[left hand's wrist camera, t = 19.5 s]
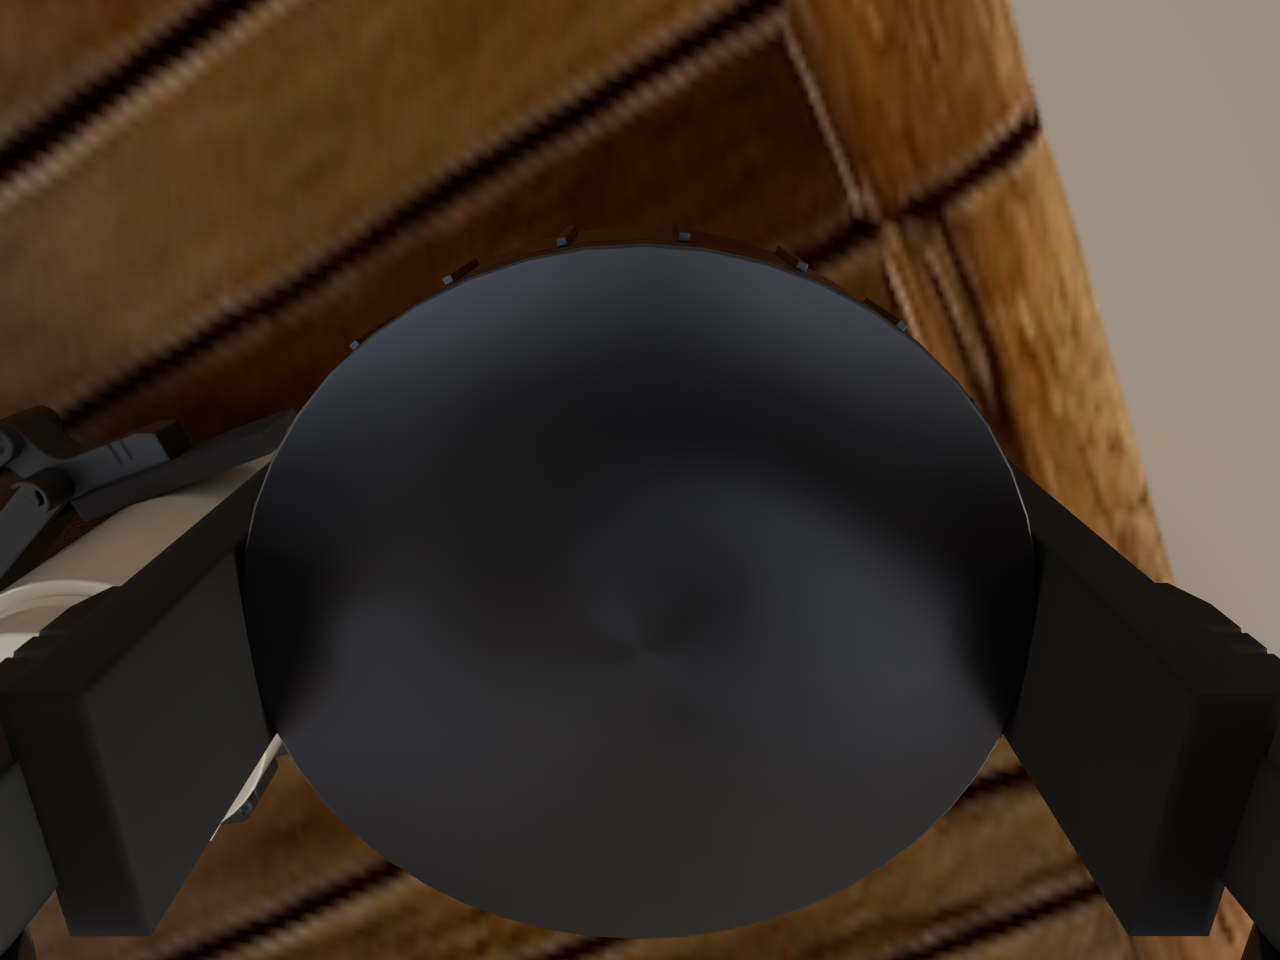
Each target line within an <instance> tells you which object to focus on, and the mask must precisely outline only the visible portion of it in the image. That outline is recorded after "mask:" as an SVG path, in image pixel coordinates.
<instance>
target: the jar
mask: <svg viewBox="0 0 1280 960" xmlns="http://www.w3.org/2000/svg"><path fill="white" fill-rule="evenodd" d="M276 450H277V449H276ZM276 450H275V451H274V452H272V453H271V454H269V455H266V456H264V457H261V458H258V459H256V460H253V461H250V462H247V463H245V464H242V465H239V466H237V467H234V468H231V469H229V470H226V471H223V472H220V473H218V474H215V475H212V476H210V477H207V478H204V479H201V480H199V481H196V482H193V483H191V484H188V485H185V486H183V487H180V488H177V489H174V490H172V491H169V492H166V493H164V494H161V495H158V496H156V497H153V498H150V499H147V500H145V501H142V502H139V503H137V504H134V505H131V506H129V507H126V508H123V509H121V510H120V511H118V512H117V513H115V514H114V515H112V516H111V517H110V518H108V519H107V520H105V521H104V522H102V523H101V524H99V525H98V526H96V527H95V528H93V529H92V530H90V531H89V532H88V533H86V534H85V535H83V536H82V537H80V538H79V539H77V540H76V541H74V542H73V543H71V544H70V545H68V546H67V547H66V548H64V549H63V550H61V551H60V552H58V553H57V554H55V555H54V556H52V557H51V558H49V559H48V560H46V561H45V562H44V563H42V564H41V565H39V566H38V567H36V568H35V569H33V570H32V571H30V572H29V573H27V574H26V575H24V576H23V577H22V578H20V579H19V580H17V581H16V582H14V583H13V584H11V585H10V586H8V587H7V588H5V589H4V590H2V591H1V592H0V662H2V661H3V660H4V659H5V658H7V657H13V655H14V653H13V652H14V651H15V650H17V649H18V648H19V647H20V646H22V645H23V644H24V643H25V642H27V641H28V640H29V639H30V638H32V637H33V636H39V631H40V630H42V629H43V628H44V627H45V626H47V625H48V624H49V623H50V622H52V621H53V620H54V619H55V618H57V617H58V616H59V615H60V614H62V613H63V612H64V611H65V610H67V609H68V608H69V607H71V606H73V605H75V604H77V603H79V602H81V601H83V600H85V599H87V598H89V597H91V596H93V595H95V594H97V593H99V592H101V591H104V590H106V589H108V588H110V587H112V586H122V585H123V584H124V583H125V582H126V581H128V580H129V579H130V578H131V577H132V576H134V575H135V574H136V573H137V572H138V571H140V570H141V569H142V568H143V567H144V566H145V565H147V564H148V563H149V562H150V561H151V560H153V559H154V558H155V557H156V556H157V555H159V554H160V553H161V552H162V551H163V550H165V549H166V548H167V547H168V546H169V545H171V544H172V543H173V542H174V541H175V540H177V539H178V538H179V537H180V536H181V535H182V534H184V533H185V532H186V531H187V530H188V529H190V528H191V527H192V526H193V525H194V524H196V523H197V522H198V521H199V520H200V519H202V518H203V517H204V516H205V515H206V514H208V513H209V512H210V511H211V510H212V509H214V508H215V507H216V506H217V505H218V504H219V503H221V502H222V501H223V500H224V499H225V498H227V497H228V496H229V495H230V494H231V493H233V492H234V491H235V490H236V489H237V488H239V487H240V486H241V485H242V484H243V483H245V482H246V481H247V480H248V479H249V478H251V477H252V476H253V475H254V474H255V473H256V472H258V471H259V470H260V469H261V468H262V467H264V466H265V465H266V464H267V463H268V462H270V461H271V459H272V457H273V456H274V454H275V452H276ZM282 743H283V742H282V740H281V739H280V737H279V735H278V734H276V735H275V737H274V739H273V740H272V742H271V743H270V745H269V747H268V748H267V750H266V751H265V753H264V755H263V756H262V758H261V759H260V761H259V763H258V764H257V766H256V767H255V769H254V771H253V772H252V774H251V775H250V777H249V779H248V780H247V782H246V783H245V785H244V787H243V788H242V790H241V791H240V793H239V795H238V796H237V798H236V799H235V801H234V803H233V804H232V806H231V808H230V809H229V811H228V812H227V814H226V816H225V817H224V819H223V820H222V822H223V821H224V820H226V819H227V818H228V817H230V816H231V815H232V814H234V813H235V812H236V811H237V810H238V809H239V808H240V807H241V806H242V805H243V804H244V803H245V802H246V800H247V799H248V797H249V796H250V795H251V793H252V792H253V790H254V789H255V787H256V786H257V784H258V782H259V781H260V779H261V777H262V776H263V774H264V772H265V771H266V769H267V767H268V766H269V764H270V763H271V761H272V759H273V758H274V756H275V754H276V753H277V751H278V749H279V748H280V746H281V744H282ZM222 822H221V823H222ZM219 826H220V825H219ZM218 828H219V827H218ZM218 828H217V830H218ZM217 830H216V831H217ZM215 833H216V832H215ZM215 833H214V835H215ZM214 835H213V836H212V838H213V837H214ZM212 838H211V840H212ZM211 840H210V841H211Z"/></svg>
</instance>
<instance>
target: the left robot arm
mask: <svg viewBox="0 0 1280 960" xmlns="http://www.w3.org/2000/svg"><path fill="white" fill-rule="evenodd" d="M1008 461H1009V460H1008ZM270 462H271V461H270ZM270 462H268V463H267V464H266V465H265V466H264V467H262V468H261V469H260V470H259V471H258V472H256V473H255V474H254V475H253V476H252V477H251V478H249V479H248V480H247V481H246V482H245V483H243V484H242V485H241V486H240V487H239V488H237V489H236V490H235V491H234V492H233V493H231V494H230V495H229V496H228V497H227V498H225V499H224V500H223V501H222V502H221V503H219V504H218V505H217V506H216V507H215V508H214V509H212V510H211V511H210V512H209V513H208V514H206V515H205V516H204V517H203V518H202V519H200V520H199V521H198V522H197V523H196V524H194V525H193V526H192V527H191V528H190V529H188V530H187V531H186V532H185V533H184V534H182V535H181V536H180V537H179V538H178V539H177V540H175V541H174V542H173V543H172V544H171V545H169V546H168V547H167V548H166V549H165V550H163V551H162V552H161V553H160V554H159V555H157V556H156V557H155V558H154V559H153V560H151V561H150V562H149V563H148V564H147V565H145V566H144V567H143V568H142V569H141V570H140V571H138V572H137V573H136V574H135V575H134V576H132V577H131V578H130V579H129V580H128V581H126V582H125V583H124V584H123V585H122V586H112V587H110V588H108V589H106V590H104V591H101V592H99V593H97V594H95V595H93V596H91V597H89V598H87V599H85V600H83V601H81V602H79V603H77V604H75V605H73V606H71V607H69V608H68V609H67V610H65V611H64V612H63V613H62V614H60V615H59V616H58V617H57V618H55V619H54V620H53V621H52V622H50V623H49V624H48V625H47V626H45V627H44V628H43V629H42V630H40V631H39V636H33V637H32V638H30V639H29V640H28V641H27V642H25V643H24V644H23V645H22V646H20V647H19V648H18V649H17V650H15V651H14V652H13V653H14V655H13V657H7V658H5V659H4V660H3V661H2V662H0V960H36V955H35V948H34V943H33V941H32V938H31V935H30V932H29V929H28V926H27V924H28V923H29V922H30V921H31V919H32V918H33V917H34V916H35V914H36V913H37V912H38V911H39V909H40V908H41V907H42V905H43V904H44V903H45V902H46V900H47V899H48V898H49V897H50V895H51V894H52V893H53V892H54V890H56V893H57V896H58V899H59V902H60V905H61V908H62V911H63V914H64V917H65V920H66V924H67V927H68V930H69V933H70V936H151V934H152V933H153V931H154V929H155V928H156V926H157V925H158V923H159V921H160V920H161V918H162V917H163V915H164V913H165V912H166V910H167V909H168V907H169V905H170V904H171V902H172V901H173V899H174V897H175V896H176V894H177V893H178V891H179V889H180V888H181V886H182V885H183V883H184V881H185V880H186V878H187V876H188V875H189V873H190V872H191V870H192V868H193V867H194V865H195V864H196V862H197V860H198V859H199V857H200V856H201V854H202V852H203V851H204V849H205V848H206V846H207V844H208V843H209V841H210V840H211V838H212V836H213V835H214V833H215V832H216V830H217V828H218V827H219V825H220V824H221V822H222V820H223V819H224V817H225V816H226V814H227V812H228V811H229V809H230V808H231V806H232V804H233V803H234V801H235V799H236V798H237V796H238V795H239V793H240V791H241V790H242V788H243V787H244V785H245V783H246V782H247V780H248V779H249V777H250V775H251V774H252V772H253V771H254V769H255V767H256V766H257V764H258V763H259V761H260V759H261V758H262V756H263V755H264V753H265V751H266V750H267V748H268V747H269V745H270V743H271V742H272V740H273V739H274V737H275V735H276V734H277V732H276V730H275V728H274V726H273V723H272V721H271V718H270V716H269V714H268V711H267V709H266V706H265V704H264V701H263V699H262V696H261V694H260V692H259V689H258V686H257V681H256V676H255V671H254V666H253V662H252V657H251V652H250V647H249V642H248V636H247V630H246V624H245V618H244V610H243V600H242V596H243V576H244V557H245V548H246V543H247V538H248V533H249V529H250V524H251V519H252V514H253V509H254V505H255V502H256V499H257V497H258V494H259V491H260V489H261V486H262V483H263V481H264V478H265V475H266V473H267V470H268V467H269V465H270ZM1009 463H1010V465H1011V467H1012V469H1013V472H1014V475H1015V478H1016V481H1017V484H1018V487H1019V490H1020V493H1021V496H1022V499H1023V502H1024V505H1025V508H1026V511H1027V514H1028V518H1029V524H1030V530H1031V536H1032V541H1033V547H1034V553H1035V559H1036V588H1037V612H1036V617H1035V623H1034V628H1033V634H1032V640H1031V645H1030V651H1029V656H1028V661H1027V666H1026V670H1025V675H1024V680H1023V684H1022V687H1021V691H1020V694H1019V697H1018V700H1017V702H1016V704H1015V706H1014V709H1013V711H1012V713H1011V715H1010V718H1009V720H1008V722H1007V724H1006V727H1005V729H1004V731H1003V735H1004V736H1005V738H1006V739H1007V741H1008V743H1009V744H1010V746H1011V747H1012V749H1013V751H1014V752H1015V754H1016V755H1017V757H1018V759H1019V760H1020V762H1021V763H1022V765H1023V767H1024V768H1025V770H1026V772H1027V773H1028V775H1029V776H1030V778H1031V780H1032V781H1033V783H1034V784H1035V786H1036V788H1037V789H1038V791H1039V792H1040V794H1041V796H1042V797H1043V799H1044V800H1045V802H1046V804H1047V805H1048V807H1049V808H1050V810H1051V812H1052V813H1053V815H1054V816H1055V818H1056V820H1057V821H1058V823H1059V824H1060V826H1061V828H1062V829H1063V831H1064V832H1065V834H1066V836H1067V837H1068V839H1069V840H1070V842H1071V844H1072V845H1073V847H1074V849H1075V850H1076V852H1077V853H1078V855H1079V857H1080V858H1081V860H1082V861H1083V863H1084V865H1085V866H1086V868H1087V869H1088V871H1089V873H1090V874H1091V876H1092V877H1093V879H1094V881H1095V882H1096V884H1097V885H1098V887H1099V889H1100V890H1101V892H1102V893H1103V895H1104V897H1105V898H1106V900H1107V901H1108V903H1109V905H1110V906H1111V908H1112V909H1113V911H1114V913H1115V914H1116V916H1117V918H1118V919H1119V921H1120V922H1121V924H1122V926H1123V927H1124V929H1125V930H1126V932H1127V934H1128V935H1129V936H1209V934H1210V931H1211V928H1212V924H1213V921H1214V918H1215V915H1216V912H1217V909H1218V906H1219V903H1220V900H1221V897H1222V894H1223V891H1224V888H1225V886H1226V888H1227V889H1228V890H1229V891H1230V893H1231V894H1232V895H1233V896H1234V898H1235V899H1236V900H1237V901H1238V903H1239V904H1240V905H1241V906H1242V908H1243V909H1244V910H1245V911H1246V913H1247V914H1248V915H1249V916H1250V918H1251V919H1252V920H1253V922H1254V923H1253V926H1252V929H1251V932H1250V935H1249V938H1248V941H1247V943H1246V946H1245V949H1244V952H1243V955H1242V958H1241V960H1280V659H1279V658H1278V657H1277V656H1276V655H1274V654H1267V648H1266V647H1264V646H1263V645H1262V644H1260V643H1259V642H1258V641H1257V640H1255V639H1254V638H1253V637H1252V636H1250V635H1249V634H1248V633H1241V628H1240V627H1239V626H1238V625H1236V624H1235V623H1234V622H1233V621H1231V620H1230V619H1229V618H1228V617H1226V616H1225V615H1224V614H1223V613H1221V612H1220V611H1219V610H1218V609H1216V608H1215V607H1214V606H1213V605H1211V604H1210V603H1208V602H1206V601H1204V600H1202V599H1199V598H1197V597H1195V596H1193V595H1191V594H1189V593H1187V592H1185V591H1183V590H1181V589H1179V588H1177V587H1175V586H1173V585H1171V584H1168V583H1154V582H1153V581H1152V580H1151V579H1149V578H1148V577H1147V576H1146V575H1145V574H1143V573H1142V572H1141V571H1140V570H1139V569H1137V568H1136V567H1135V566H1134V565H1133V564H1132V563H1130V562H1129V561H1128V560H1127V559H1126V558H1124V557H1123V556H1122V555H1121V554H1120V553H1118V552H1117V551H1116V550H1115V549H1114V548H1112V547H1111V546H1110V545H1109V544H1108V543H1106V542H1105V541H1104V540H1103V539H1102V538H1100V537H1099V536H1098V535H1097V534H1096V533H1095V532H1093V531H1092V530H1091V529H1090V528H1089V527H1087V526H1086V525H1085V524H1084V523H1083V522H1081V521H1080V520H1079V519H1078V518H1077V517H1075V516H1074V515H1073V514H1072V513H1071V512H1069V511H1068V510H1067V509H1066V508H1065V507H1064V506H1062V505H1061V504H1060V503H1059V502H1058V501H1056V500H1055V499H1054V498H1053V497H1052V496H1050V495H1049V494H1048V493H1047V492H1046V491H1044V490H1043V489H1042V488H1041V487H1040V486H1038V485H1037V484H1036V483H1035V482H1034V481H1032V480H1031V479H1030V478H1029V477H1028V476H1027V475H1025V474H1024V473H1023V472H1022V471H1021V470H1019V469H1018V468H1017V467H1016V466H1015V465H1013V464H1012V463H1011V462H1010V461H1009Z"/></svg>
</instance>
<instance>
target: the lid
mask: <svg viewBox="0 0 1280 960" xmlns="http://www.w3.org/2000/svg"><path fill="white" fill-rule="evenodd" d="M807 267H808V264H807V263H806V262H804V261H803V260H801V259H800V258H798V257H797V256H795V255H794V254H792V253H791V252H789V251H788V250H786V249H784V248H782V247H779V246H778V247H777V249H776V252H775V253H774V252H771V251H769V250H766V249H763V248H761V247H758V246H755V245H753V244H750V243H747V242H745V241H740V240H736V239H731V238H727V237H722V236H718V235H713V234H709V233H704V232H700V231H695V230H687V228H686V226H685V225H684V223H683V222H677V221H675V222H674V229H671V228H659V227H647V226H643V227H624V228H605V229H593V230H587V231H582V232H577V227H576V225H574V226H568V227H567V228H566V229H565V230H564V231H563V232H562V233H561V234H560V235H559V236H556V237H551V238H546V239H543V240H540V241H537V242H534V243H531V244H528V245H525V246H522V247H519V248H516V249H513V250H510V251H507V252H505V253H502V254H499V255H497V256H495V257H493V258H491V259H489V260H487V261H485V262H483V263H481V264H479V263H478V261H477V259H476V258H474V259H472V260H470V261H468V262H467V263H465V264H463V265H462V266H460V267H459V268H457V269H455V270H454V271H452V272H451V273H449V274H448V275H446V276H444V277H443V278H442V280H443V282H444V284H443V285H442V286H440V287H439V288H437V289H436V290H434V291H433V292H431V293H430V294H428V295H427V296H425V297H424V298H422V299H421V300H419V301H418V302H416V303H415V304H413V305H412V306H411V307H409V308H408V309H406V310H405V311H403V312H402V313H401V314H399V315H398V316H396V317H394V316H393V315H392V316H391V317H389V318H388V319H386V320H385V321H383V322H382V323H380V324H379V325H377V326H375V327H374V328H372V329H371V330H369V331H368V332H366V333H365V334H363V335H362V336H360V337H359V338H357V339H356V340H354V341H353V342H352V343H351V344H350V347H351V348H352V349H353V351H352V352H351V353H350V354H349V355H348V356H347V357H346V358H345V359H344V360H342V361H341V362H340V363H339V364H338V365H337V366H336V367H335V368H334V369H333V370H332V371H331V372H330V373H329V374H328V375H327V377H326V378H325V379H324V380H323V382H322V383H321V384H320V385H319V387H318V388H317V389H316V391H315V392H314V393H313V394H312V396H311V397H310V398H309V399H308V401H307V402H306V403H305V404H304V406H303V407H302V408H301V410H300V411H299V412H298V413H297V415H296V417H295V418H294V420H293V422H292V424H290V425H289V427H288V429H287V431H286V432H287V433H286V434H285V436H284V438H283V440H282V441H281V443H280V445H279V447H278V448H277V450H276V452H275V454H274V456H273V457H272V459H271V462H270V465H269V467H268V470H267V473H266V475H265V478H264V481H263V483H262V486H261V489H260V491H259V494H258V497H257V499H256V502H255V505H254V509H253V514H252V519H251V524H250V529H249V533H248V538H247V543H246V548H245V557H244V576H243V596H242V600H243V610H244V618H245V624H246V630H247V636H248V642H249V647H250V652H251V657H252V662H253V666H254V671H255V676H256V681H257V686H258V689H259V692H260V694H261V696H262V699H263V701H264V704H265V706H266V709H267V711H268V714H269V716H270V718H271V721H272V723H273V726H274V728H275V730H276V732H277V734H278V735H279V737H280V739H281V740H282V742H283V744H284V746H285V747H286V749H287V751H288V753H289V754H290V756H291V758H292V760H293V761H294V763H295V765H296V766H297V768H298V769H299V770H300V772H301V773H302V774H303V776H304V777H305V778H306V780H307V781H308V782H309V783H310V785H311V786H312V787H313V789H314V790H315V791H316V793H317V794H318V795H319V797H320V798H321V799H322V800H323V802H324V803H325V804H326V805H327V806H328V807H329V808H330V809H331V810H332V811H333V812H334V813H335V814H336V815H337V816H338V817H339V818H340V819H341V820H342V821H343V822H344V823H345V824H346V825H347V826H348V827H349V828H350V829H351V830H352V831H353V832H354V833H355V834H356V835H357V836H359V837H360V838H361V839H362V840H364V841H365V842H366V843H367V844H369V845H370V846H371V847H372V848H374V849H375V850H376V851H377V852H378V853H380V854H381V855H382V856H383V857H385V858H386V859H387V860H389V861H390V862H392V863H393V864H395V865H396V866H398V867H400V868H401V869H403V870H404V871H406V872H407V873H409V874H411V875H412V876H414V877H415V878H417V879H418V880H420V881H422V882H423V883H425V884H427V885H429V886H431V887H433V888H435V889H437V890H439V891H441V892H443V893H445V894H447V895H449V896H451V897H453V898H455V899H457V900H459V901H461V902H463V903H465V904H468V905H471V906H474V907H476V908H479V909H482V910H484V911H487V912H490V913H492V914H495V915H498V916H500V917H503V918H506V919H510V920H514V921H518V922H521V923H525V924H529V925H533V926H537V927H541V928H544V929H549V930H555V931H561V932H568V933H574V934H580V935H587V936H596V937H613V938H629V939H644V938H671V937H684V936H692V935H699V934H706V933H714V932H721V931H726V930H730V929H734V928H739V927H743V926H747V925H751V924H756V923H760V922H764V921H767V920H770V919H773V918H776V917H779V916H782V915H785V914H788V913H790V912H793V911H796V910H799V909H802V908H805V907H808V906H810V905H812V904H814V903H816V902H818V901H820V900H823V899H825V898H827V897H829V896H831V895H833V894H835V893H838V892H840V891H842V890H844V889H846V888H848V887H850V886H851V885H853V884H855V883H856V882H858V881H860V880H861V879H863V878H865V877H866V876H868V875H870V874H871V873H873V872H874V871H876V870H878V869H879V868H881V867H883V866H884V865H886V864H887V863H888V862H890V861H891V860H892V859H894V858H895V857H896V856H897V855H899V854H900V853H901V852H903V851H904V850H905V849H907V848H908V847H909V846H910V845H912V844H913V843H914V842H916V841H917V840H918V839H919V838H920V837H922V836H923V835H924V834H925V833H926V832H927V831H928V830H929V829H930V828H931V827H932V826H933V825H934V824H935V823H936V822H937V821H938V820H939V819H940V818H941V817H942V816H943V815H944V814H945V813H946V812H947V811H948V810H949V809H950V808H951V807H952V806H953V805H954V803H955V802H956V801H957V800H958V798H959V797H960V796H961V795H962V794H963V792H964V791H965V790H966V789H967V787H968V786H969V785H970V784H971V782H972V781H973V780H974V779H975V777H976V776H977V775H978V773H979V772H980V770H981V769H982V767H983V765H984V764H985V762H986V760H987V759H988V757H989V756H990V754H991V752H992V751H993V749H994V748H995V746H996V744H997V743H998V741H999V739H1000V738H1001V736H1002V733H1003V731H1004V729H1005V727H1006V724H1007V722H1008V720H1009V718H1010V715H1011V713H1012V711H1013V709H1014V706H1015V704H1016V702H1017V700H1018V697H1019V694H1020V691H1021V687H1022V684H1023V680H1024V675H1025V670H1026V666H1027V661H1028V656H1029V651H1030V645H1031V640H1032V634H1033V628H1034V623H1035V617H1036V612H1037V588H1036V559H1035V553H1034V547H1033V541H1032V536H1031V530H1030V524H1029V518H1028V514H1027V511H1026V508H1025V505H1024V502H1023V499H1022V496H1021V493H1020V490H1019V487H1018V484H1017V481H1016V478H1015V475H1014V472H1013V469H1012V467H1011V465H1010V463H1009V461H1008V460H1007V458H1006V456H1005V454H1004V452H1003V450H1002V448H1001V446H1000V444H999V442H998V440H997V439H996V437H995V435H994V433H993V431H992V429H991V427H990V425H989V423H988V422H987V421H986V419H985V418H984V417H983V415H982V414H981V412H980V411H979V410H978V408H979V406H978V404H977V403H976V401H975V400H974V399H972V398H971V397H970V396H968V395H967V393H966V392H965V391H964V389H963V388H962V387H961V385H960V384H959V383H958V381H957V380H956V379H955V378H954V377H953V376H952V375H951V374H950V373H949V372H948V371H947V370H946V369H945V368H944V367H943V366H942V365H941V364H940V363H939V362H938V361H937V360H936V359H935V358H934V357H933V356H932V355H931V354H930V353H929V352H928V351H927V350H926V349H925V348H924V347H923V346H922V345H921V344H920V343H919V342H917V341H916V340H915V339H913V338H912V337H911V336H909V335H908V334H907V333H905V332H904V331H903V330H904V329H905V328H906V327H907V326H908V325H907V324H906V323H905V322H903V321H902V320H901V319H899V318H898V317H896V316H895V315H893V314H892V313H890V312H888V311H887V310H885V309H884V308H882V307H881V306H879V305H878V304H876V303H874V302H873V301H871V300H870V299H868V298H866V299H865V300H864V301H863V302H862V301H861V300H859V299H858V298H856V297H855V296H853V295H852V294H850V293H849V292H848V291H846V290H845V289H843V288H842V287H840V286H839V285H837V284H836V283H834V282H833V281H831V280H829V279H827V278H825V277H823V276H822V275H820V274H818V273H816V272H814V271H812V270H810V269H809V268H807Z"/></svg>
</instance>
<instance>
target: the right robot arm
mask: <svg viewBox="0 0 1280 960" xmlns="http://www.w3.org/2000/svg"><path fill="white" fill-rule="evenodd" d="M296 415H297V414H296V412H295V410H294V409H293V407H291V408H288V409H286V410H283V411H280V412H278V413H275V414H272V415H270V416H267V417H264V418H262V419H259V420H256V421H254V422H251V423H248V424H246V425H243V426H240V427H238V428H235V429H232V430H230V431H227V432H224V433H222V434H219V435H216V436H214V437H211V438H208V439H206V440H203V441H200V442H198V443H195V444H192V445H191V443H190V441H189V439H188V438H187V436H186V434H185V433H184V431H183V429H182V427H181V426H180V424H179V422H178V421H177V420H159V421H156V422H154V423H151V424H149V425H146V426H144V427H141V428H138V429H135V430H133V431H130V432H128V433H125V434H122V435H120V436H117V437H115V438H112V439H109V440H107V441H104V442H101V443H99V444H95V445H84V444H80V443H78V442H76V441H74V440H73V439H71V438H70V437H69V436H67V435H66V434H65V433H64V432H63V431H62V428H63V426H62V421H61V419H60V417H59V416H58V414H57V413H56V412H54V411H53V410H52V409H51V408H48V407H46V406H34V407H31V408H29V409H27V410H23V411H21V412H19V413H16V414H14V415H11V416H9V417H6V418H4V419H1V420H0V476H2V475H3V474H5V473H6V472H8V471H9V470H13V471H14V472H15V473H16V474H17V475H19V476H20V477H21V478H22V479H23V480H21V481H19V482H17V483H15V484H14V485H12V486H11V488H12V489H13V490H14V489H16V488H18V487H19V486H20V488H19V489H18V490H17V492H16V493H15V494H14V495H13V497H12V498H11V499H10V500H9V502H8V503H7V504H6V506H5V507H4V508H3V509H2V511H1V512H0V592H1V591H2V590H4V589H5V588H7V587H8V586H10V585H11V584H13V583H14V582H16V581H17V580H19V579H20V578H22V577H23V576H24V575H26V574H27V573H28V571H29V570H30V569H31V568H32V566H33V565H34V564H35V563H36V562H37V560H38V559H39V558H40V557H41V556H42V554H43V553H44V552H45V551H46V550H47V548H48V547H49V546H50V545H51V544H52V542H53V541H54V540H55V539H56V538H57V536H58V535H59V534H60V533H61V532H62V530H63V529H64V528H65V527H66V526H67V524H68V523H69V522H70V521H71V520H72V518H73V517H74V516H75V515H76V513H77V512H78V514H79V515H80V517H81V519H82V520H83V522H84V523H85V522H88V521H91V520H93V519H96V518H99V517H102V516H104V515H107V514H110V513H112V512H115V511H118V510H120V509H123V508H126V507H129V506H131V505H134V504H137V503H139V502H142V501H145V500H147V499H150V498H153V497H156V496H158V495H161V494H164V493H166V492H169V491H172V490H174V489H177V488H180V487H183V486H185V485H188V484H191V483H193V482H196V481H199V480H201V479H204V478H207V477H210V476H212V475H215V474H218V473H220V472H223V471H226V470H229V469H231V468H234V467H237V466H239V465H242V464H245V463H247V462H250V461H253V460H256V459H258V458H261V457H264V456H266V455H269V454H271V453H272V452H274V451H275V450H276V449H277V448H278V447H279V445H280V443H281V441H282V440H283V438H284V436H285V434H286V433H287V432H286V431H287V429H288V427H289V425H290V424H292V422H293V420H294V418H295V417H296ZM287 753H288V751H287V749H286V747H285V746H284V744H283V743H282V744H281V746H280V748H279V749H278V751H277V753H276V754H275V756H274V758H273V759H272V761H271V763H270V764H269V766H268V767H267V769H266V771H265V772H264V774H263V776H262V777H261V779H260V781H259V782H258V784H257V786H256V787H255V789H254V790H253V792H252V793H251V795H250V796H249V797H248V799H247V800H246V802H245V803H244V804H243V805H242V806H241V807H240V808H239V809H238V810H237V811H236V812H235V813H234V814H232V815H231V816H230V817H228V818H227V819H226V820H224V821H223V822H222V823H221V824H228V823H235V822H241V821H244V820H246V819H247V818H249V817H250V815H251V813H252V812H253V810H254V808H255V807H256V805H257V803H258V802H259V800H260V798H261V797H262V795H263V793H264V791H265V790H266V788H267V786H268V785H269V783H270V781H271V779H272V778H273V776H274V774H275V773H276V771H277V768H278V764H277V761H276V759H275V757H278V756H281V755H284V754H287Z"/></svg>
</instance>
